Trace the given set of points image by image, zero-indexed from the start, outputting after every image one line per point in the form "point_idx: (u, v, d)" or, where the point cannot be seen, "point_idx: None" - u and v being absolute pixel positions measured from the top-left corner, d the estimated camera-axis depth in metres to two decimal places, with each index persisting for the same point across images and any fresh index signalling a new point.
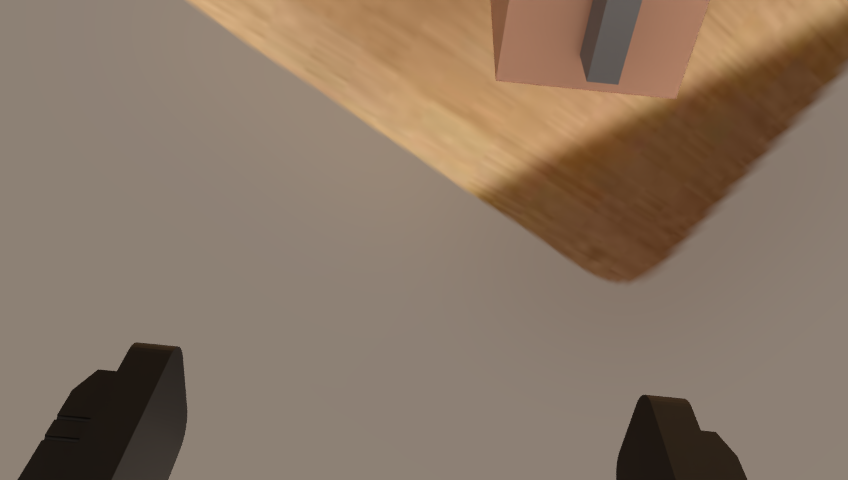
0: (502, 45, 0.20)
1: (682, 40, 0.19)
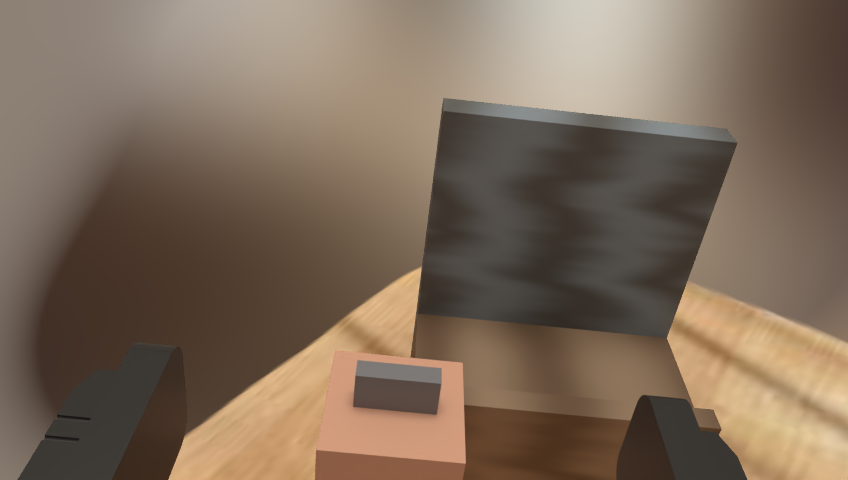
0: (361, 353, 0.29)
1: (368, 446, 0.25)
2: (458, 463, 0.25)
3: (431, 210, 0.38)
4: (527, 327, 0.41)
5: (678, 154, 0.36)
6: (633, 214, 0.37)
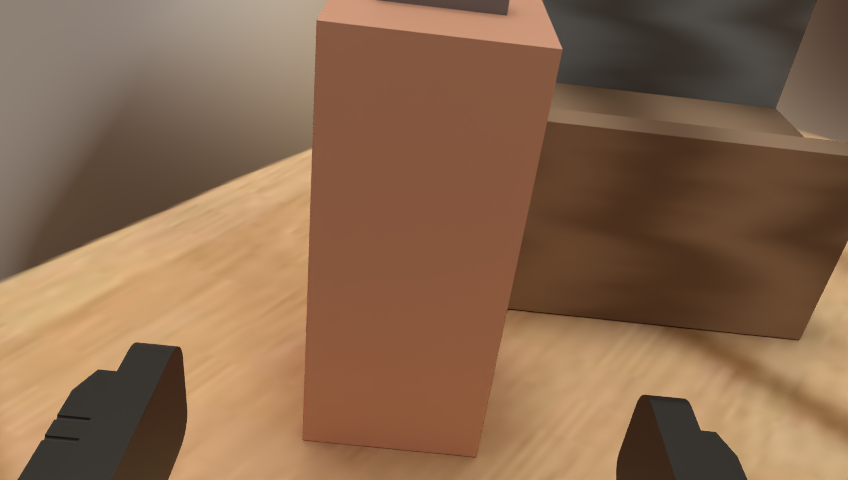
0: None
1: (401, 24, 0.15)
2: (550, 48, 0.15)
3: None
4: (594, 89, 0.31)
5: None
6: None
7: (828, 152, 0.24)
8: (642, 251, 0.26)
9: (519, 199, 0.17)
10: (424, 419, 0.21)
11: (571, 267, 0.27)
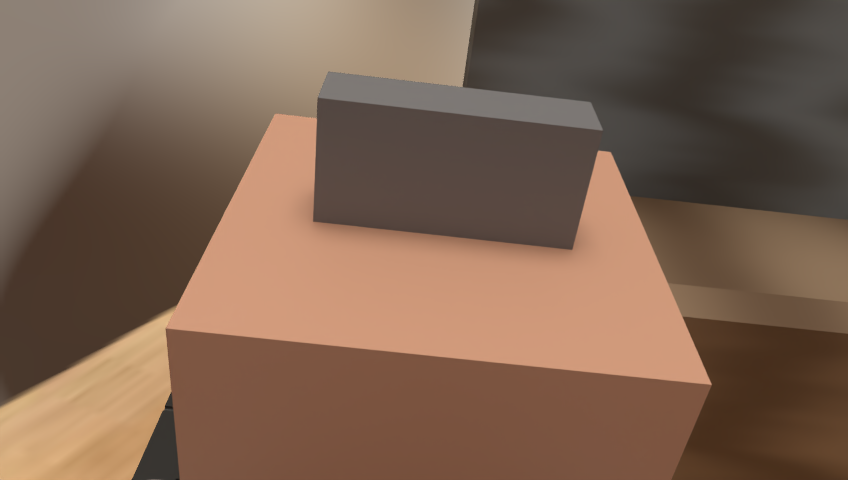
0: None
1: (357, 323, 0.07)
2: (685, 384, 0.07)
3: None
4: (649, 202, 0.23)
5: None
6: None
7: None
8: (734, 472, 0.18)
9: None
10: None
11: None
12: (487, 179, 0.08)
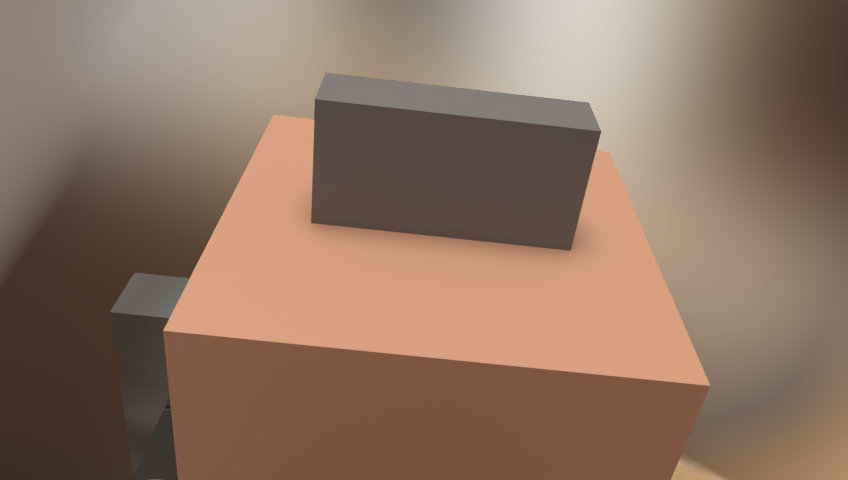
0: None
1: (355, 324, 0.07)
2: (683, 385, 0.07)
3: (135, 469, 0.20)
4: None
5: None
6: None
7: None
8: None
9: None
10: None
11: None
12: (485, 180, 0.08)
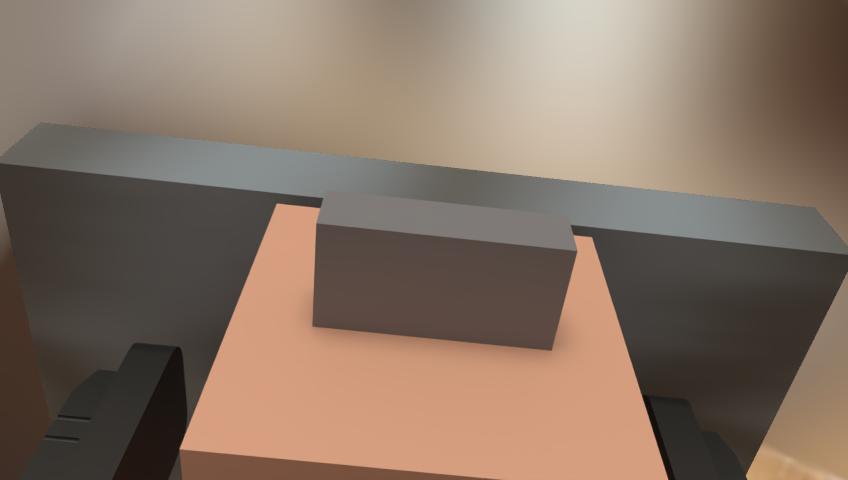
0: None
1: (353, 438, 0.08)
2: None
3: (51, 407, 0.15)
4: None
5: (685, 284, 0.13)
6: None
7: None
8: None
9: None
10: None
11: None
12: (472, 291, 0.09)
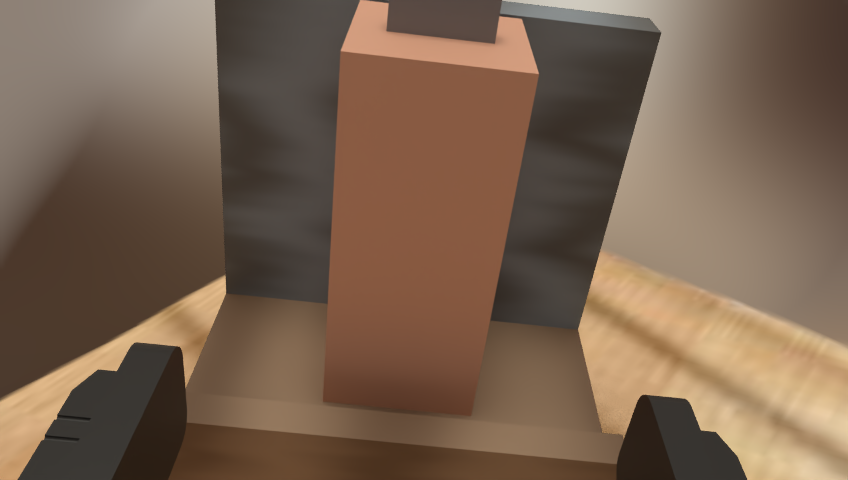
0: None
1: (408, 54, 0.19)
2: (529, 73, 0.19)
3: (222, 139, 0.26)
4: None
5: (574, 51, 0.24)
6: None
7: (566, 456, 0.22)
8: None
9: (505, 195, 0.20)
10: (426, 383, 0.24)
11: None
12: (458, 10, 0.20)
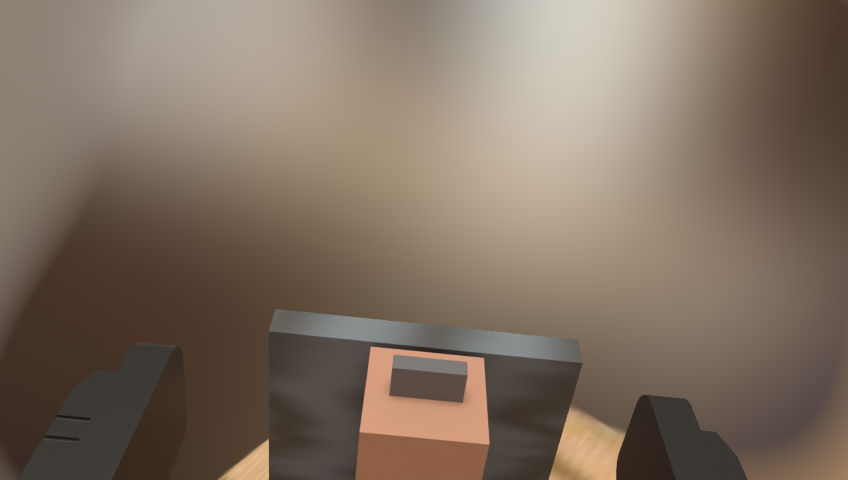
0: (394, 349, 0.33)
1: (404, 429, 0.29)
2: (483, 444, 0.28)
3: (270, 418, 0.36)
4: None
5: (521, 372, 0.34)
6: None
7: None
8: None
9: None
10: None
11: None
12: (437, 386, 0.30)
